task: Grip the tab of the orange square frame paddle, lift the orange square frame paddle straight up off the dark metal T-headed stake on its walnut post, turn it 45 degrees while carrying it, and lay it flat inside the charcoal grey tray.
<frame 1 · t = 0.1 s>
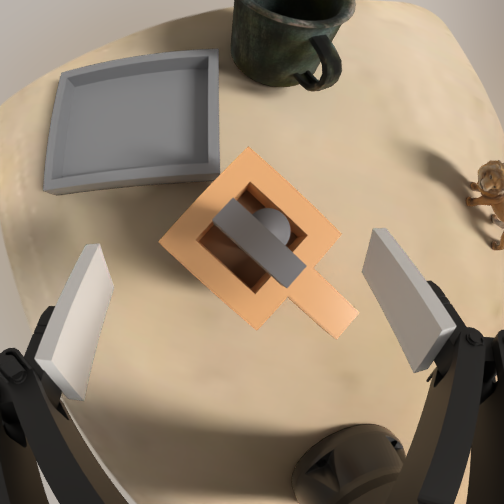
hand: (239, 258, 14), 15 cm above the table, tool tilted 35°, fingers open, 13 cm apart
lion figurine: (478, 212, 33), on the table
tray: (134, 123, 28), on the table
mug: (280, 65, 30), on the table
orange square frame paddle: (248, 238, 23), point 6 cm above the table, touching stake
stake: (243, 241, 29), on the table
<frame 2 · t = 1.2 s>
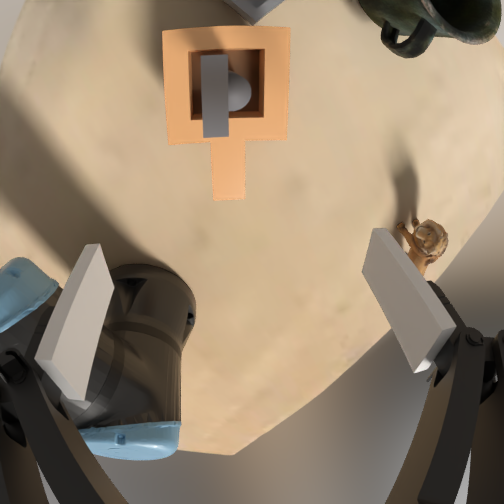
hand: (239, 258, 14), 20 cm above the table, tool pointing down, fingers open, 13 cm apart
lion figurine: (399, 239, 41), on the table
mug: (387, 5, 22), on the table
orange square frame paddle: (225, 81, 22), point 6 cm above the table, touching stake
stake: (223, 77, 27), on the table
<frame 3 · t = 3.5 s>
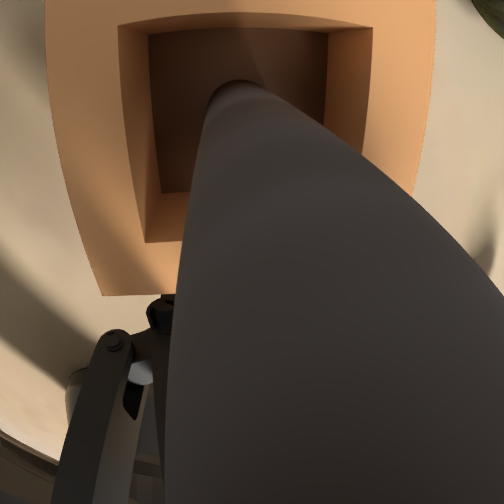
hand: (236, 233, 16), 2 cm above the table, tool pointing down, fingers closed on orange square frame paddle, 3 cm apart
orange square frame paddle: (239, 110, 9), point 6 cm above the table, touching gripper, stake
stake: (231, 91, 13), on the table
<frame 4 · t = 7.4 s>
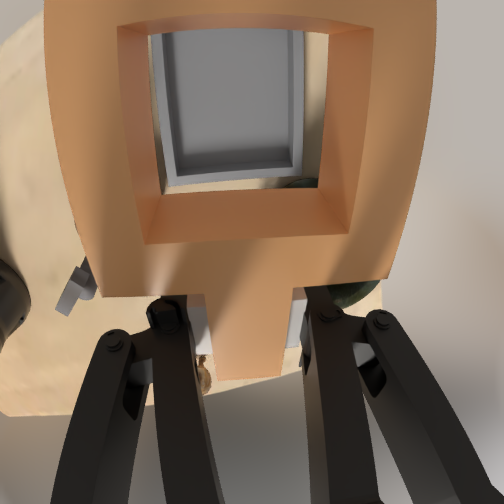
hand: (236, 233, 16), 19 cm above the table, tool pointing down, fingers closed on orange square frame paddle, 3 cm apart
lion figurine: (185, 361, 54), on the table
tray: (229, 91, 28), on the table
mug: (292, 217, 38), on the table
orange square frame paddle: (239, 111, 9), point 23 cm above the table, touching gripper
stake: (126, 198, 34), on the table
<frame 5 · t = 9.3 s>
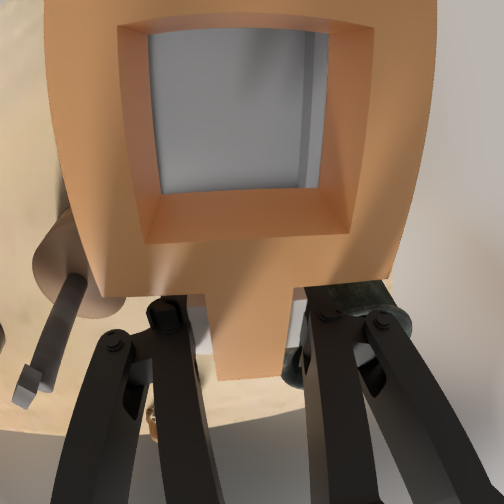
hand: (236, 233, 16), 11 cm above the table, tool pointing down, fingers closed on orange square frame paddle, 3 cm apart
lion figurine: (169, 402, 47), on the table
tray: (224, 112, 22), on the table
mug: (296, 267, 32), on the table
orange square frame paddle: (240, 110, 9), point 15 cm above the table, touching gripper
stake: (96, 241, 27), on the table
when the fingers open (2 cm above the table, at t = 11.2 s): orange square frame paddle drops 5 cm, resting on tray.
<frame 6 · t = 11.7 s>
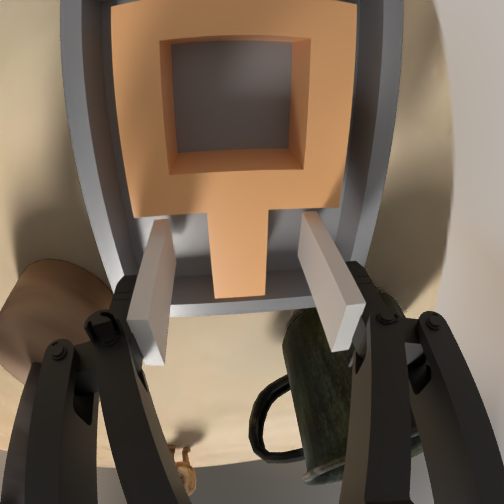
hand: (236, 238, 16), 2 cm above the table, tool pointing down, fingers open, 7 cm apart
lion figurine: (167, 448, 40), on the table
tray: (232, 141, 15), on the table
mug: (322, 333, 25), on the table
orange square frame paddle: (232, 95, 13), point 1 cm above the table, touching tray
stake: (68, 306, 20), on the table
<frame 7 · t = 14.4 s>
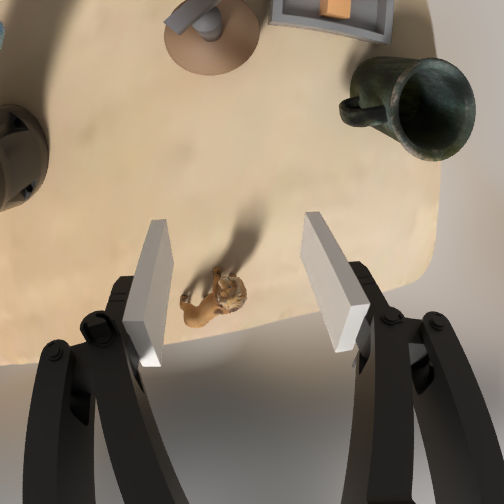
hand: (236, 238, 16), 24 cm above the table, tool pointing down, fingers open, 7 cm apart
lion figurine: (210, 281, 48), on the table
mug: (372, 94, 33), on the table
stake: (213, 37, 28), on the table
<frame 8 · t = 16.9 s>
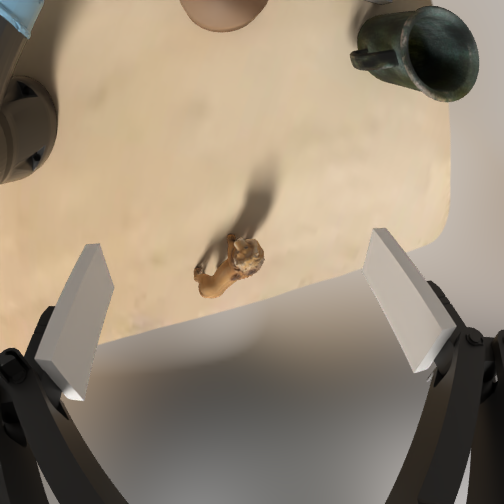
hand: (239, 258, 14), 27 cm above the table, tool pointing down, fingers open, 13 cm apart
lion figurine: (224, 249, 47), on the table
mug: (378, 50, 31), on the table
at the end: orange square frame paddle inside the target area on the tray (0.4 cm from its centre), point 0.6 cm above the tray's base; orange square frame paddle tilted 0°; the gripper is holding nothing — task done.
